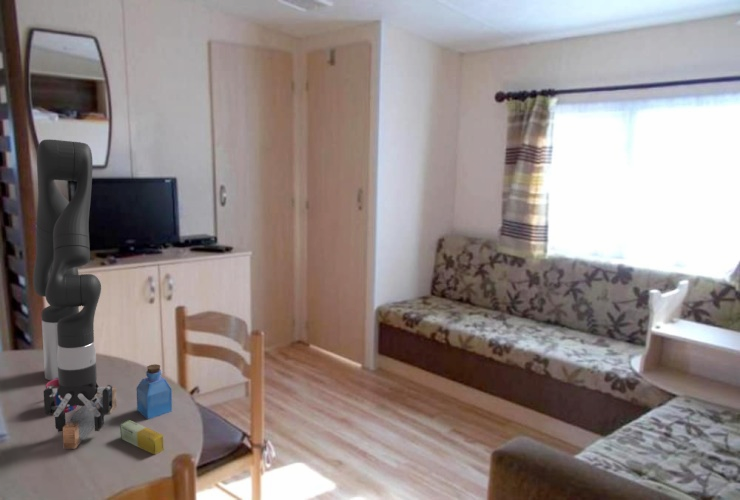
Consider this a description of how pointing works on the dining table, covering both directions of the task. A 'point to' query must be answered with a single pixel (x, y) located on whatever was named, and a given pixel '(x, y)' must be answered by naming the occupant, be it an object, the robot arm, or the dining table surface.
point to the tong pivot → (112, 399)
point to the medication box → (142, 437)
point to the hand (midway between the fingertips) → (80, 429)
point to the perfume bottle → (154, 394)
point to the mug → (57, 397)
